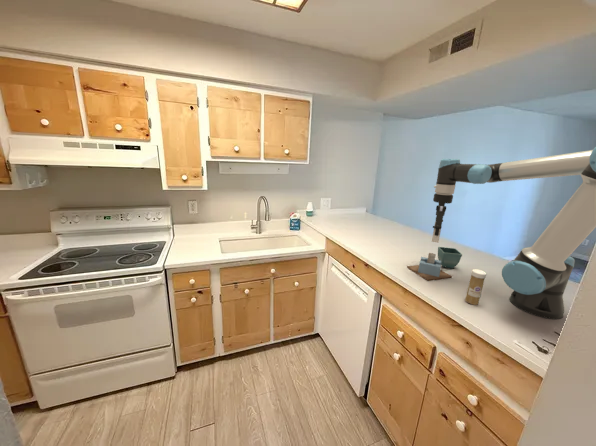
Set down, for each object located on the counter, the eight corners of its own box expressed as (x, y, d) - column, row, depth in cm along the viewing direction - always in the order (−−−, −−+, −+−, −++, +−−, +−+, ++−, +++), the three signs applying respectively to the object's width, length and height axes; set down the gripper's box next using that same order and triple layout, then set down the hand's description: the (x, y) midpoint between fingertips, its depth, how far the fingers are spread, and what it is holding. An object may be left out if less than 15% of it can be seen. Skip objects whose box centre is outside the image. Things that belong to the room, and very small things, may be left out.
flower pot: (459, 270, 124) (462, 254, 121) (440, 268, 125) (443, 252, 123) (452, 263, 132) (455, 248, 130) (434, 261, 134) (437, 246, 131)
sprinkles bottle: (469, 305, 94) (477, 273, 91) (462, 298, 99) (469, 268, 95) (481, 305, 94) (489, 274, 91) (473, 298, 99) (480, 268, 95)
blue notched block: (439, 269, 121) (441, 260, 120) (439, 277, 114) (441, 267, 113) (419, 265, 126) (421, 256, 125) (418, 272, 118) (419, 262, 117)
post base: (451, 278, 115) (456, 258, 113) (427, 281, 112) (431, 261, 109) (429, 265, 128) (433, 248, 126) (407, 267, 125) (410, 249, 122)
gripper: (435, 190, 122) (428, 230, 127) (433, 196, 101) (424, 243, 107) (452, 191, 118) (444, 232, 124) (454, 198, 97) (444, 247, 103)
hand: (435, 238), depth 115 cm, fingers open, 13 cm apart
